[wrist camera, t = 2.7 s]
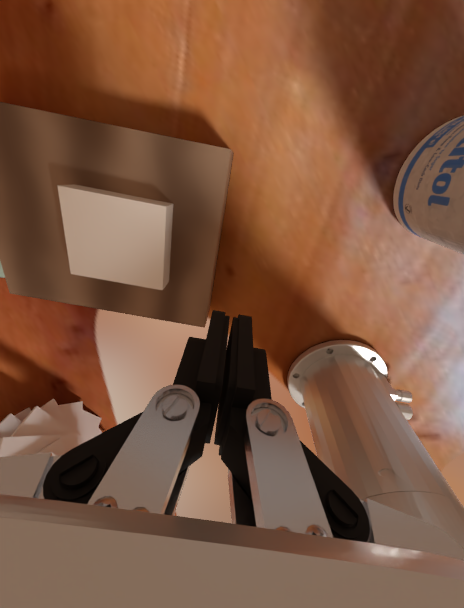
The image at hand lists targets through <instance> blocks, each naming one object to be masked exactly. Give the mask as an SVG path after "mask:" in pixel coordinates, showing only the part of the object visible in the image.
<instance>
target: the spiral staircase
mask: <svg viewBox="0 0 464 608" xmlns="http://www.w3.org/2000/svg"><path fill="white" fill-rule="evenodd" d="M101 419H102V418H100V417H98V416H95V415H93V414H91V413H89V412H86V411H84V410H83V403H82V401H81V402H75V403H69V404H63V405H58V404H57V402H56V401H55V399H52V400H50V401H49V402H47V403H46V404H45V405H43V406H42V407H40V408H39V407H38V406H36V407H34V408H33V409H32V411H31V409H30V408H26V409H25V410H23V411H21V412H20V413H18V414H16V415H13V414H8V415H7V416H6V417H5V418H4V419H3V420H2V421H1V422H0V457H7V456H18V455H29V454H41V453H52V455H53V456H60V455H63V454H65V453H66V452H68V451H69V450H71V449H73V448H75V447H77V446H78V445H80V444H82V443H84V442H86V441H88V440H90V439H92V438H94V437H96V436H98V435H100V434H101V433H102V432H101V430H100V429H99V424H100V421H101Z"/></svg>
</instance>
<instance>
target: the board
mask: <svg viewBox="0 0 464 608" xmlns="http://www.w3.org/2000/svg"><path fill="white" fill-rule="evenodd" d="M232 160H233V152H232V150H231V149H227V148H222V147H217V146H212V145H208V144H203V143H198V142H193V141H188V140H183V139H178V138H173V137H169V136H164V135H159V134H154V133H149V132H144V131H139V130H135V129H130V128H125V127H120V126H115V125H110V124H105V123H100V122H96V121H91V120H86V119H81V118H76V117H71V116H66V115H61V114H57V113H52V112H47V111H42V110H37V109H32V108H27V107H23V106H18V105H13V104H8V103H3V102H0V261H1V265H2V268H3V272H4V275H5V278H6V282H7V285H8V289H9V292H10V293H11V294H17V295H23V296H28V297H34V298H40V299H45V300H51V301H57V302H62V303H68V304H74V305H80V306H85V307H91V308H97V309H102V310H108V311H114V312H120V313H125V314H132V315H137V316H142V317H148V318H154V319H159V320H165V321H171V322H176V323H182V324H188V325H194V326H200V327H205V324H206V321H207V317H208V313H209V309H210V303H211V297H212V290H213V284H214V277H215V271H216V264H217V258H218V251H219V245H220V238H221V232H222V225H223V219H224V212H225V206H226V199H227V192H228V186H229V179H230V173H231V166H232ZM73 184H75V185H80V186H85V187H90V188H95V189H101V190H106V191H111V192H116V193H121V194H126V195H131V196H136V197H142V198H147V199H152V200H157V201H162V202H167V203H172V204H173V218H172V236H171V253H170V271H169V282H168V283H167V285H166V286H165V288H164V289H163V290H158V289H152V288H146V287H141V286H135V285H130V284H124V283H119V282H113V281H108V280H102V279H97V278H91V277H85V276H80V275H74V274H71V272H70V265H69V259H68V252H67V246H66V239H65V232H64V226H63V219H62V213H61V206H60V199H59V193H58V186H57V185H73Z"/></svg>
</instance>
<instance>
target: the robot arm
mask: <svg viewBox="0 0 464 608" xmlns="http://www.w3.org/2000/svg"><path fill="white" fill-rule="evenodd" d="M229 318H230V316H225V312H221V311H215V310H213V312H212V316H211V321H210V326H209V330H208V334H207V338H206V340H205V339H199V338H193V337H189V339H188V342H187V344H186V347H185V350H184V354H183V357H182V359H181V362H180V365H179V368H178V371H177V375H176V377H175V380H174V383H173V385H169V386H166V387H163V388H162V389H160V390H159V391H157V392H156V394H155V395H154V396H153V397H152V399H151V401H150V402H149V404H148V405H147V407H146V408H145V410H144V412H142V413H140V414H138V415H136V416H134V417H132V418H131V419H128V420H126V421H124V422H123V423H121V424H119V425H117V426H115V427H113V428H111V429H109V430H107V431H105V432H103V433H101V434H100V435H98V436H96V437H94V438H92V439H90V440H88V441H86V442H84V443H82V444H80V445H78V446H77V447H75V448H73V449H71V450H69V451H68V452H66V453H65V454H63V455H60V456H53V455H52V453H41V454H29V455H18V456H7V457H0V608H464V507H463V506H462V504H461V503H460V501H459V500H458V498H457V497H456V495H455V494H454V492H453V490H452V489H451V487H450V486H449V484H448V483H447V481H446V480H445V478H444V477H443V475H442V474H441V472H440V471H439V469H438V467H437V466H436V464H435V463H434V461H433V460H432V458H431V457H430V455H429V454H428V452H427V451H426V449H425V448H424V446H423V444H422V443H421V441H420V440H419V438H418V437H417V435H416V434H415V432H414V431H413V429H412V428H411V426H410V425H409V423H408V421H407V420H410V419H411V418H412V415H413V413H412V409H411V407H410V406H409V405H408V404H404V403H398V402H394V401H395V400H397V401H402V402H408V403H410V402H411V401H412V395H411V393H410V392H409V391H404V390H395V389H393V388H392V387H391V385H390V384H389V382H388V381H387V377H388V372H387V367H386V364H385V362H384V360H383V359H382V358H381V356H380V355H379V354H378V353H377V352H376V351H375V350H374V349H373V348H371V347H370V346H368V345H366V344H363V343H360V342H357V341H351V340H335V341H328V342H325V343H321V344H318V345H316V346H314V347H311V348H310V349H308V350H306V351H305V352H303V353H302V354H301V355H300V356H299V357H298V358H297V359H296V360H295V361H294V362H293V364H292V365H291V367H290V369H289V372H288V377H287V383H288V388H289V392H290V394H291V396H292V398H293V399H294V400H295V402H296V403H297V404H299V405H300V406H301V407H303V408H305V409H306V413H307V417H308V420H309V425H310V429H311V433H312V437H313V441H314V444H315V448H316V452H317V456H318V457H317V456H316V455H314V453H313V452H311V451H310V450H309V449H308V448H307V447H306V446H305V445H304V444H303V443H302V442H301V441H300V440H299V437H298V435H297V432H296V429H295V426H294V423H293V420H292V418H291V416H290V414H289V412H288V411H287V410H286V409H285V407H283V406H282V405H281V404H279V403H278V402H276V401H273V400H272V399H271V390H270V382H269V374H268V365H267V357H266V351H265V350H264V349H258V348H253V335H252V317H250V316H244V315H239V316H238V318H236V317H233V321H232V326H231V331H230V335H229V340H228V345H227V338H228V328H229ZM226 348H227V350H226ZM218 404H219V405H218ZM217 408H218V415H217V423H216V432H215V442H214V444H216V445H220V448H219V455H221V459H222V461H223V462H224V463H225V465H226V466H227V467H228V481H229V494H230V506H231V518H232V524H231V523H223V522H215V521H209V520H201V519H194V518H186V517H179V516H174V513H175V510H176V507H177V504H178V501H179V498H180V495H181V492H182V489H183V486H184V483H185V480H186V477H187V474H188V471H189V466H190V465H191V464H192V463H193V462H195V461H196V460H197V459H199V458H200V457H201V456H202V454H203V449H204V444H205V443H210V440H211V435H212V431H213V426H214V422H215V417H216V412H217Z"/></svg>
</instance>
